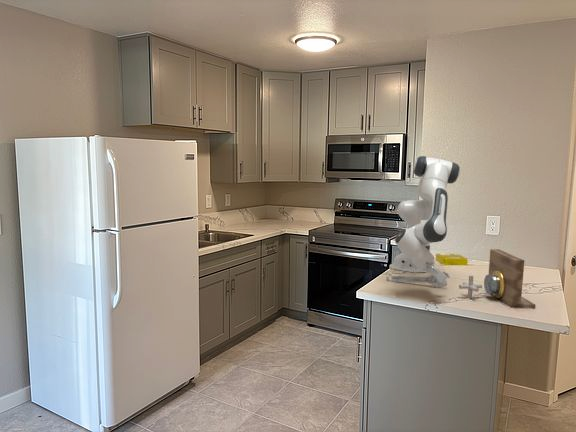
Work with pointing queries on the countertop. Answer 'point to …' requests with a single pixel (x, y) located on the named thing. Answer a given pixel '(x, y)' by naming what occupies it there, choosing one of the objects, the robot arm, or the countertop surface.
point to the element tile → (451, 259)
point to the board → (510, 277)
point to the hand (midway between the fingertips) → (445, 283)
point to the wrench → (418, 279)
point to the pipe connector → (470, 286)
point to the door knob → (495, 284)
